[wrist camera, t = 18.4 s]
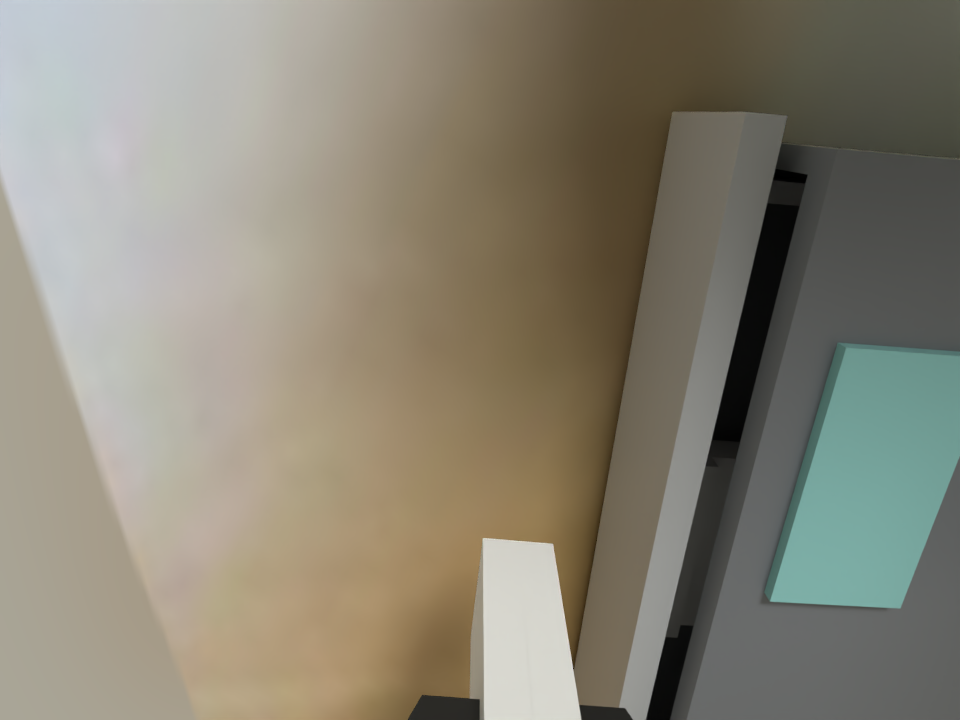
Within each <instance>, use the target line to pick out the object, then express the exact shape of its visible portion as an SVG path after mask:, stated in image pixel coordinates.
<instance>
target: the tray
mask: <svg viewBox="0 0 960 720" xmlns="http://www.w3.org/2000/svg"><path fill="white" fill-rule="evenodd" d="M787 117H788V116H787V115H776V114H765V113H754V112H672V117H671V122H670V128H669V134H668V139H667V145H666V151H665V156H664V162H663V168H662V173H661V179H660V185H659V190H658V196H657V202H656V208H655V213H654V219H653V225H652V230H651V236H650V242H649V247H648V253H647V259H646V264H645V270H644V276H643V281H642V287H641V293H640V298H639V304H638V310H637V315H636V321H635V327H634V333H633V338H632V344H631V350H630V355H629V361H628V367H627V372H626V378H625V384H624V389H623V395H622V401H621V406H620V412H619V418H618V423H617V429H616V435H615V440H614V446H613V452H612V457H611V463H610V469H609V475H608V480H607V486H606V492H605V497H604V503H603V509H602V514H601V520H600V526H599V531H598V537H597V543H596V548H595V554H594V560H593V565H592V571H591V577H590V582H589V588H588V594H587V600H586V605H585V611H584V617H583V622H582V628H581V634H580V639H579V645H578V651H577V656H576V662H575V668H574V677H575V683H576V689H577V696H578V702H579V705H589V706H603V707H616V708H625V709H626V710H627V712H628V713H629V715H630V716H631V718H632V719H633V720H646V717H647V713H648V708H649V704H650V700H651V696H652V691H653V687H654V683H655V679H656V674H657V670H658V666H659V662H660V657H661V653H662V649H663V645H664V640H665V637H674V638H677V637H678V633H679V629H680V625H689V626H694V623H695V619H696V615H697V611H698V607H699V603H700V599H701V595H702V591H703V587H704V583H705V579H706V575H707V571H708V567H709V563H710V559H711V555H712V551H713V547H714V543H715V539H716V536H717V532H718V528H719V524H720V520H721V516H722V512H723V508H724V504H725V500H726V496H727V492H728V488H729V484H730V480H731V476H732V472H733V468H734V464H735V460H736V456H737V452H738V448H739V444H740V442H735V441H720V440H712V436H713V432H714V428H715V423H716V419H717V415H718V411H719V406H720V402H721V398H722V393H723V389H724V385H725V381H726V376H727V372H728V368H729V364H730V359H731V355H732V351H733V347H734V342H735V338H736V334H737V330H738V325H739V321H740V317H741V313H742V308H743V304H744V300H745V296H746V291H747V287H748V283H749V279H750V274H751V270H752V266H753V262H754V257H755V253H756V249H757V245H758V240H759V236H760V232H761V228H762V223H763V219H764V215H765V211H766V206H767V203H771V204H783V205H795V206H800V203H801V199H802V195H803V191H804V187H805V183H806V179H795V178H783V177H773V176H774V172H775V168H776V164H777V159H778V155H779V151H780V147H781V142H782V138H783V134H784V130H785V125H786V121H787Z"/></svg>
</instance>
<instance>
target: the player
mask: <svg viewBox="0 0 960 720" xmlns="http://www.w3.org/2000/svg"><path fill="white" fill-rule="evenodd" d="M773 177H783V178H795V179H806V183H805V187H804V191H803V195H802V199H801V203H800V206H795V205H783V204H771V203H767V206H766V211H765V215H764V219H763V223H762V228H761V232H760V236H759V240H758V245H757V249H756V253H755V257H754V262H753V266H752V270H751V274H750V279H749V283H748V287H747V291H746V296H745V300H744V304H743V308H742V313H741V317H740V321H739V325H738V330H737V334H736V338H735V342H734V347H733V351H732V355H731V359H730V364H729V368H728V372H727V376H726V381H725V385H724V389H723V393H722V398H721V402H720V406H719V411H718V415H717V419H716V423H715V428H714V432H713V436H712V440H720V441H735V442H740V444H739V448H738V452H737V456H736V460H735V464H734V468H733V472H732V476H731V480H730V484H729V488H728V492H727V496H726V500H725V504H724V508H723V512H722V516H721V520H720V524H719V528H718V532H717V536H716V539H715V543H714V547H713V551H712V555H711V559H710V563H709V567H708V571H707V575H706V579H705V583H704V587H703V591H702V595H701V599H700V603H699V607H698V611H697V615H696V619H695V623H694V626H689V625H680V629H679V633H678V637H677V638H674V637H665V640H664V645H663V649H662V653H661V657H660V662H659V666H658V670H657V674H656V679H655V683H654V687H653V691H652V696H651V700H650V704H649V708H648V713H647V717H646V720H960V159H959V158H948V157H937V156H926V155H914V154H903V153H892V152H881V151H870V150H859V149H847V148H836V147H825V146H814V145H803V144H792V143H781V147H780V151H779V155H778V159H777V164H776V168H775V172H774V176H773Z"/></svg>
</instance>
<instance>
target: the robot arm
mask: <svg viewBox="0 0 960 720" xmlns="http://www.w3.org/2000/svg"><path fill="white" fill-rule="evenodd" d="M408 720H633V719H632V718H631V716H630V715H629V713H628V712H627V710H626V709H625V708H616V707H603V706H589V705H579V702H578V696H577V689H576V683H575V677H574V671H573V665H572V658H571V652H570V646H569V640H568V634H567V628H566V621H565V615H564V609H563V603H562V597H561V590H560V584H559V578H558V572H557V566H556V560H555V553H554V547H553V544H550V543H538V542H526V541H513V540H501V539H489V538H483V542H482V550H481V558H480V566H479V574H478V582H477V590H476V598H475V606H474V614H473V623H472V631H471V655H470V699H469V698H455V697H441V696H428V695H422V696H421V698H420V699H419V701H418V703H417V705H416V706H415V708H414V710H413V711H412V713H411V715H410V717H409V718H408Z"/></svg>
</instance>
